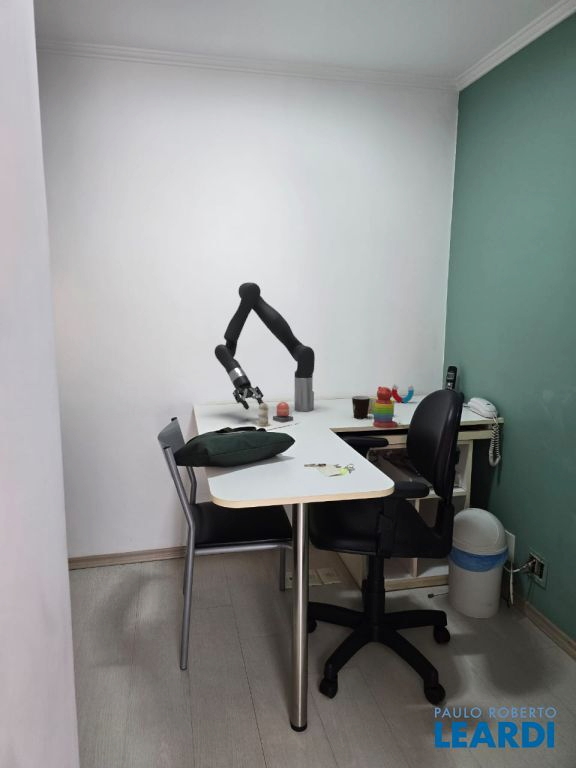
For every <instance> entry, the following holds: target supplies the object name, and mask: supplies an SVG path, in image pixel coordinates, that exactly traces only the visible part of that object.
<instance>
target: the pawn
mask: <svg viewBox="0 0 576 768" xmlns="http://www.w3.org/2000/svg"><path fill="white" fill-rule="evenodd" d="M258 421H259V422H258V423H257V425H258V427H260V426H266V427H270V426H269V425H270V424H271V423H270V422H269V406H268V404H267V403H265V402H263V403H261V404H260V405H259V404H258ZM257 425H256V426H257Z"/></svg>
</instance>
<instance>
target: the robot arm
mask: <svg viewBox="0 0 576 768" xmlns="http://www.w3.org/2000/svg"><path fill="white" fill-rule="evenodd" d="M238 296H239V298H240V302H239V305H238V307H237V309H236V311H235V313H234V314H233V316H232V317H231V319H230V320H229V323H228V325H227V327H226V329H225V332H224V334H223V339H224V340H225V344H218V345H217V346H215V348H214V356H215V359H217V361H218V362H219V363H220V364H221V365H222V367H223V368H224V370H225V371H226V373H227V375H228V377H229V379H230V381H231V383H232V385H233V387H234V390H233V392H232V395H233V397H234V399H235V401H236V403H237V404H242V406H243V409H245V410H246V411H247V410H249V409H250V405H249V403H248V402H247V400H246V399H250V398H251V399H252V400H255V401H256V402H257V404H258V406H259V405H260V404H261V403H264V401H263V399H262V398H263V397H264V394H263V392H262V391H261V389H260V388H259V386H257V385H256V386H255V387H253V386H252V384H251V383H252V382H251V381H250V379H249V377H248V375H247V374H246V372H245V371H244V369H243V368H242V366H241V364H240V362H239V361H238V360H237V359H236V358H235V356H236V353H237V348H238V347H237V346H238V341H239V338H240V336H241V334H242V331H243V329H244V326H245V323H246V322H247V319H248V317H249V315H250V313H251V311H252V310H253V311H254V313H255V314H256V315H257V317H258V318H259V320H261V322H262V323H263V324H264V326H266V327H265V328H267V329H268V330H269V331H270V333H272V335H274V338H276V339H277V340H278V341H279V342H280V343H281V344H282V345H283V346H284V347H285V348H286V350H287V351H288V353H289V354H290V356H292V357H291V358H293V360H294V361H295V362H297V363H296V364H297V367H296V370H295V371H294V411H295V412H300V413H302V412H303V413H306V412H311V411H314V409H315V408H314V407H315V401H314V400H315V391H313V390H314V389H313V388H314V386H313V383H314V382H313V381H314V379H313V377H314V371H315V361H316V359H315V358H316V357H315V355H316V354H315V351H314V349H313V348H312V347H311V346H307V345H304V344H303V343H302V342H301V341H300V340H299V339H298V338H297V337H296V335H295V334H294V333H293V331H292V328H291V326H290V324H289V323H288V322H287V320H286V319H285V318H284V317H283V315H281V314H280V312H278V311H277V310H276V309H275V307H272V306H271V305H270V304H269V303H268V302H266V301H265V299H264V298H263V297H262V296H261V287H260V286H259V285H258V284H257V283H255V282H243V283H242V284H241V285H239V287H238Z"/></svg>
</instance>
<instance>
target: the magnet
mask: <svg viewBox="0 0 576 768" xmlns="http://www.w3.org/2000/svg"><path fill="white" fill-rule="evenodd" d="M406 388H407V391H408V392H407V394H406V396H400V395H399V393H398V389H399V386H398V385H397V384H395V383H393V386H392V388H391V391H392V398H393V400H394V401H395V402H397V403H399V402H404V403H403V404H406V403H408V402H410V401H411V400H412V399H413V396H414V392H415V391H414V386H413V384H410V385H409V386H407V387H406Z"/></svg>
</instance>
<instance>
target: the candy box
mask: <svg viewBox="0 0 576 768" xmlns="http://www.w3.org/2000/svg"><path fill="white" fill-rule="evenodd" d="M369 397H370V396H369ZM377 399H378V397H370V401H369V408H368V415H369V414H370V415H373V408H374V404H375V402H376V400H377ZM390 400H391V401H392V403H393V408H394V409H395V399H390ZM394 416H395V415H393V417H394Z"/></svg>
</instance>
